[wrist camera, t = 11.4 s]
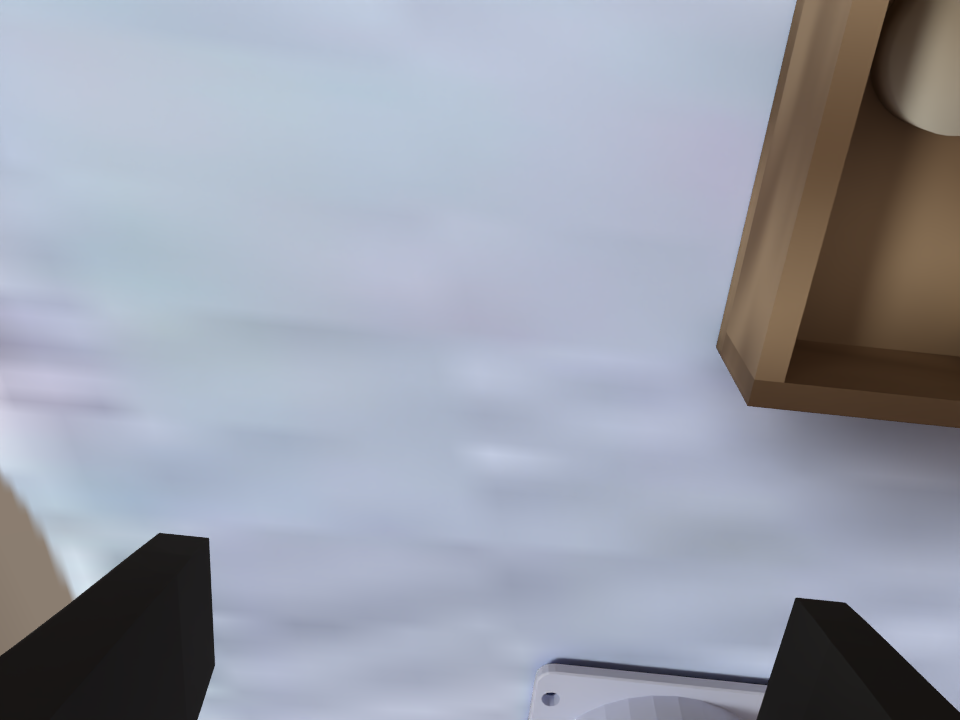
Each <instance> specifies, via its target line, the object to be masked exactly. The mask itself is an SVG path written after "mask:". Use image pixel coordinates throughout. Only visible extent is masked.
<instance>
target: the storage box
mask: <svg viewBox="0 0 960 720" xmlns="http://www.w3.org/2000/svg"><path fill="white" fill-rule="evenodd" d="M716 348H717V350H718V352H719V354H720V356H721V357H722V359H723V361H724V363H725V365H726V367H727V369H728V370H729V372H730V374H731V376H732V378H733V380H734V382H735V383H736V385H737V387H738V389H739V391H740V393H741V394H742V396H743V398H744V400H745V402H746V404H747V406H753V407H763V408H773V409H782V410H792V411H801V412H811V413H820V414H830V415H840V416H849V417H859V418H868V419H878V420H888V421H897V422H907V423H916V424H926V425H936V426H945V427H955V428H960V0H797V2H796V6H795V11H794V15H793V19H792V24H791V28H790V32H789V36H788V41H787V45H786V49H785V54H784V58H783V62H782V66H781V71H780V75H779V79H778V84H777V88H776V92H775V97H774V101H773V105H772V109H771V114H770V118H769V122H768V127H767V131H766V135H765V139H764V144H763V148H762V152H761V157H760V161H759V165H758V169H757V174H756V178H755V182H754V187H753V191H752V195H751V199H750V204H749V208H748V212H747V217H746V221H745V225H744V229H743V234H742V238H741V242H740V247H739V251H738V255H737V259H736V264H735V268H734V272H733V277H732V281H731V285H730V289H729V294H728V298H727V302H726V307H725V311H724V315H723V319H722V324H721V328H720V332H719V337H718V341H717V345H716Z"/></svg>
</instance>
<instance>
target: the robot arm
mask: <svg viewBox="0 0 960 720" xmlns="http://www.w3.org/2000/svg"><path fill="white" fill-rule="evenodd" d="M214 666H215V656H214V635H213V614H212V593H211V571H210V550H209V538H204V537H194V536H184V535H174V534H164V533H159V534H157V535H156V536H155V537H154V538H152V539H151V540H150V541H148V542H147V543H146V544H144V545H143V546H142V547H140V548H139V549H138V550H136V551H135V552H134V553H133V554H131V555H130V556H129V557H128V558H126V559H125V560H124V561H123V562H121V563H120V564H119V565H117V566H116V567H115V568H114V569H112V570H111V571H110V572H109V573H107V574H106V575H105V576H104V577H102V578H101V579H100V580H99V581H97V582H96V583H95V584H94V585H92V586H91V587H90V588H89V589H87V590H86V591H85V592H84V593H82V594H81V595H80V596H78V597H77V598H76V599H75V600H73V601H72V602H71V603H70V604H68V605H67V606H66V607H64V608H63V609H62V610H61V611H59V612H58V613H57V614H55V615H54V616H53V617H51V618H50V619H49V620H48V621H46V622H45V623H44V624H42V625H41V626H40V627H38V628H37V629H36V630H34V631H33V632H32V633H30V634H29V635H28V636H26V637H25V638H24V639H23V640H21V641H20V642H19V643H17V644H16V645H15V646H13V647H12V648H11V649H9V650H8V651H7V652H5V653H4V654H2V655H1V656H0V720H197V719H198V716H199V713H200V710H201V707H202V704H203V701H204V698H205V695H206V691H207V688H208V685H209V682H210V679H211V676H212V673H213V669H214ZM550 692H553V693H556V694H555V695H546V693H550ZM528 720H960V712H959V711H958V710H957V709H956V708H955V707H953V706H952V705H951V704H950V703H949V702H948V701H947V700H946V699H945V698H944V697H943V696H942V695H941V694H940V693H939V692H938V691H937V690H936V689H935V688H934V687H933V686H932V685H931V684H930V683H929V682H928V681H927V680H926V679H925V678H924V677H923V676H922V675H921V674H920V673H918V672H917V671H916V670H915V669H914V668H913V667H912V666H911V665H910V664H909V663H908V662H907V661H906V660H905V659H904V658H903V657H902V656H901V655H900V654H899V653H898V652H897V651H896V650H895V649H894V648H893V647H892V646H891V645H890V644H889V643H888V642H887V641H886V640H885V639H884V638H883V637H882V636H881V635H880V634H879V633H877V632H876V631H875V630H874V629H873V628H872V627H871V626H870V625H869V624H868V623H867V622H866V621H865V620H864V619H863V618H862V617H861V616H860V615H858V614H857V613H856V612H855V611H854V610H853V609H852V608H851V607H850V606H848V605H847V604H846V603H843V602H833V601H824V600H814V599H804V598H795V601H794V605H793V608H792V611H791V614H790V617H789V620H788V623H787V626H786V629H785V632H784V635H783V639H782V642H781V645H780V648H779V651H778V654H777V657H776V660H775V663H774V666H773V670H772V673H771V676H770V679H769V682H768V685H759V684H749V683H739V682H730V681H720V680H710V679H700V678H691V677H681V676H671V675H661V674H652V673H642V672H632V671H622V670H613V669H603V668H593V667H583V666H574V665H564V664H547V665H544V666H542V667H540V668H539V669H538V670H537V672H536V675H535V680H534V686H533V692H532V698H531V704H530V710H529V716H528Z"/></svg>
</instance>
